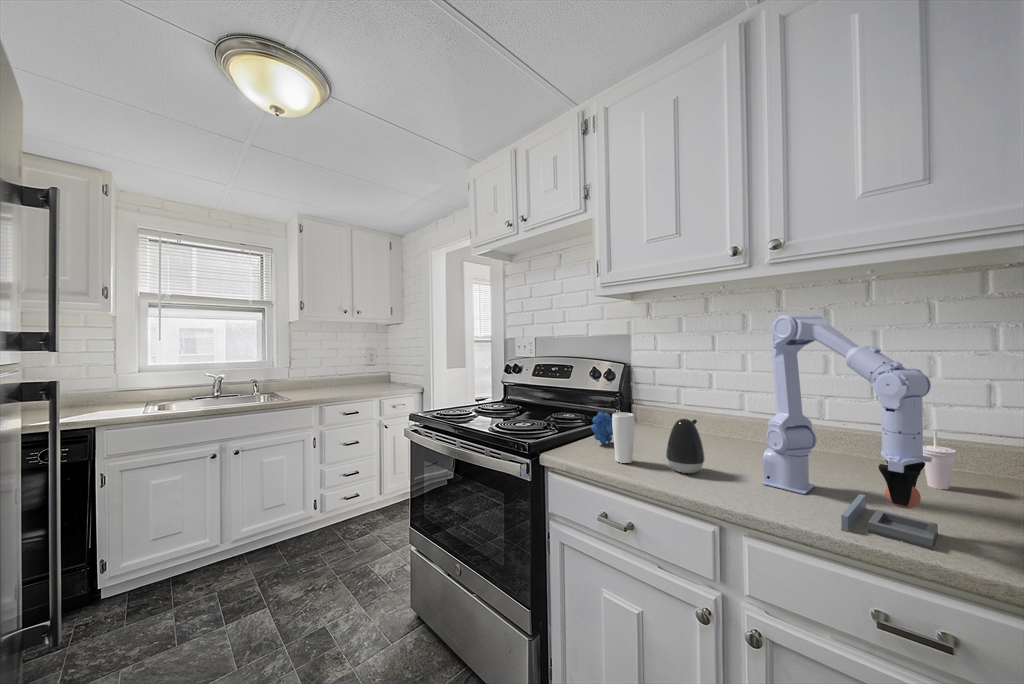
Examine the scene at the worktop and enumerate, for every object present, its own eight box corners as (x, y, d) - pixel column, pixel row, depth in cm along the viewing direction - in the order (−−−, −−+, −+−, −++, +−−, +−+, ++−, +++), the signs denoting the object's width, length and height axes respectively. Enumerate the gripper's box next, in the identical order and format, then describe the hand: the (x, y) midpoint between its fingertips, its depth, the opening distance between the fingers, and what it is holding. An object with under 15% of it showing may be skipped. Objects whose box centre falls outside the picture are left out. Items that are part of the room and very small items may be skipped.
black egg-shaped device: (712, 472, 115) (712, 419, 115) (689, 479, 109) (689, 424, 109) (681, 462, 124) (681, 413, 123) (659, 469, 118) (658, 418, 118)
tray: (868, 532, 79) (867, 522, 79) (877, 518, 84) (877, 509, 84) (932, 550, 72) (932, 539, 72) (937, 534, 78) (937, 524, 78)
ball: (882, 507, 78) (882, 481, 78) (887, 500, 82) (887, 475, 82) (919, 515, 75) (918, 488, 75) (922, 507, 78) (922, 482, 78)
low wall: (841, 529, 80) (841, 515, 80) (859, 507, 90) (859, 493, 90) (847, 531, 79) (847, 516, 79) (865, 508, 89) (865, 495, 89)
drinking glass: (627, 466, 121) (626, 417, 121) (608, 461, 126) (607, 414, 126) (639, 461, 126) (638, 414, 125) (620, 457, 131) (619, 411, 130)
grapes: (601, 449, 140) (601, 415, 140) (587, 445, 146) (586, 412, 146) (623, 443, 147) (622, 410, 147) (609, 439, 153) (608, 408, 152)
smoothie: (936, 482, 104) (936, 428, 104) (965, 491, 97) (964, 434, 97) (912, 482, 104) (912, 429, 103) (940, 492, 97) (939, 435, 97)
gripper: (926, 441, 70) (927, 518, 70) (935, 428, 79) (936, 496, 80) (873, 434, 76) (874, 505, 76) (887, 423, 85) (888, 486, 85)
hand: (902, 500), depth 78 cm, fingers closed on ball, 5 cm apart
